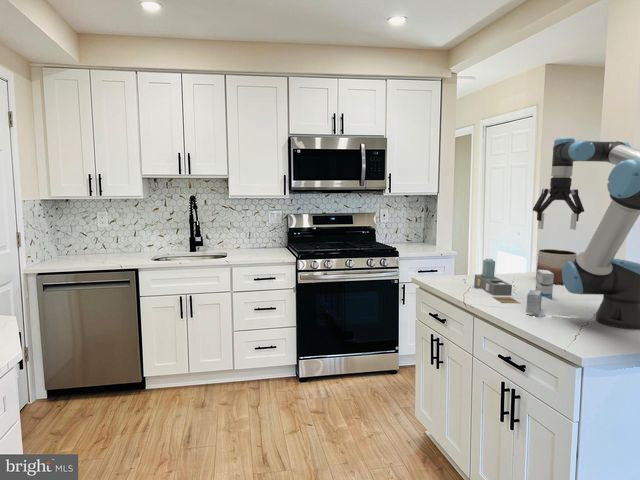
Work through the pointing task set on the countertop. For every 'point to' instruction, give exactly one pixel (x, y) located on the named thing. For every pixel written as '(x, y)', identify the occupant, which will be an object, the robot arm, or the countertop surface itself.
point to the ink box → (545, 283)
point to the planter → (554, 262)
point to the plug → (488, 269)
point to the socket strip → (493, 285)
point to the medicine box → (534, 302)
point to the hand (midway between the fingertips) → (556, 229)
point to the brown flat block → (506, 300)
